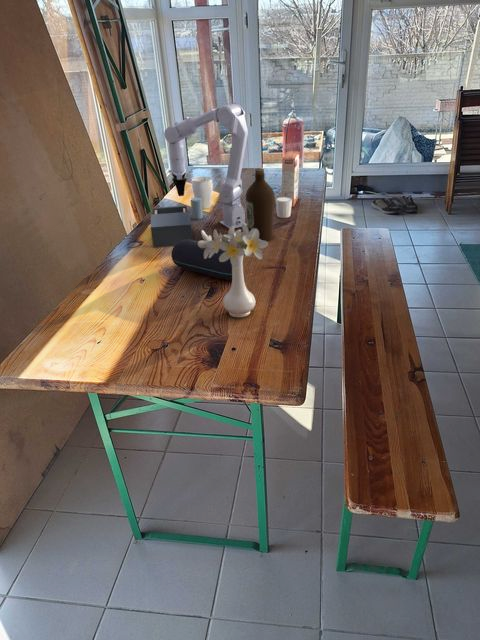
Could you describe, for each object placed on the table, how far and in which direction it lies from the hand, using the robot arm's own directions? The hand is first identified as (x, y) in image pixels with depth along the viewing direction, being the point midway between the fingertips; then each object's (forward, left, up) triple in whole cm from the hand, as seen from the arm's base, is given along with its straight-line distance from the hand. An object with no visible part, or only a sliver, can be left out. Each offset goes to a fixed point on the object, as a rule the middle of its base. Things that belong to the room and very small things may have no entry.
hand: (180, 193), depth 203 cm
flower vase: (-84, +20, -11) cm, 87 cm away
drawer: (-8, +9, -10) cm, 15 cm away
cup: (+9, -14, -11) cm, 20 cm away
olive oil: (-37, -16, -11) cm, 42 cm away
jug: (-3, -5, -10) cm, 12 cm away
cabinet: (-20, +13, -10) cm, 26 cm away
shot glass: (-21, -37, -11) cm, 44 cm away
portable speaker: (-56, +15, -11) cm, 59 cm away
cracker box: (-8, -49, -11) cm, 51 cm away
